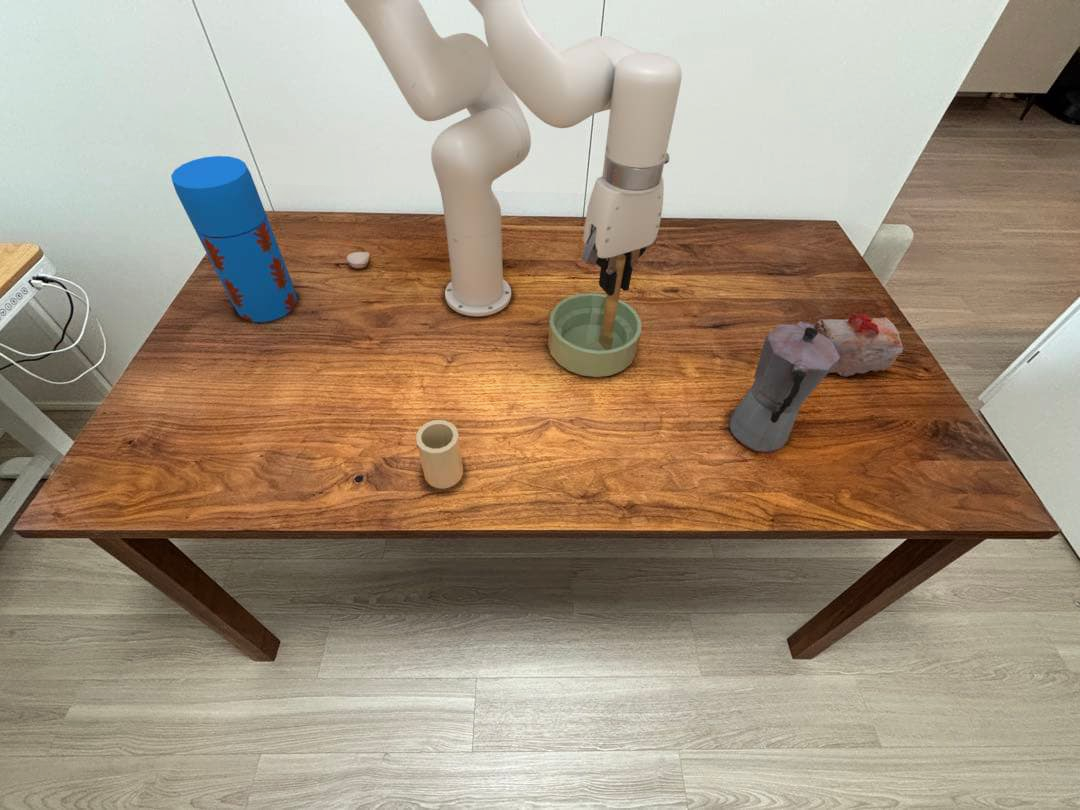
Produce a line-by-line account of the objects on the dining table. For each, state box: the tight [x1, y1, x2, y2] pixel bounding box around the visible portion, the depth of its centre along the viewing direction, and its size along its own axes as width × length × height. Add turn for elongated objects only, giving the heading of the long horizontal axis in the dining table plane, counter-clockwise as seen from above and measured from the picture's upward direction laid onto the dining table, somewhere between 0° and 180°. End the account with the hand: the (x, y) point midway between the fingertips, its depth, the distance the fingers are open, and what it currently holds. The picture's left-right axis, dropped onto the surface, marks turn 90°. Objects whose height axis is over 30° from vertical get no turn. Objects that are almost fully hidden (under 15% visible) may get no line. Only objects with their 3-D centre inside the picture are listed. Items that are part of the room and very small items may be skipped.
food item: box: [813, 313, 904, 378], centre depth 90 cm, size 14×8×10 cm, turn 96°
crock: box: [415, 419, 464, 489], centre depth 73 cm, size 5×6×9 cm
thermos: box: [170, 155, 298, 323], centre depth 90 cm, size 11×11×25 cm
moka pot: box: [728, 320, 840, 453], centre depth 76 cm, size 10×15×20 cm, turn 161°
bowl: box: [547, 292, 642, 378], centre depth 92 cm, size 15×15×6 cm
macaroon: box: [346, 251, 370, 270], centre depth 108 cm, size 4×5×2 cm
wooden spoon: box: [599, 254, 626, 350], centre depth 84 cm, size 3×2×18 cm
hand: (613, 287), depth 82 cm, fingers closed on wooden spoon, 2 cm apart
